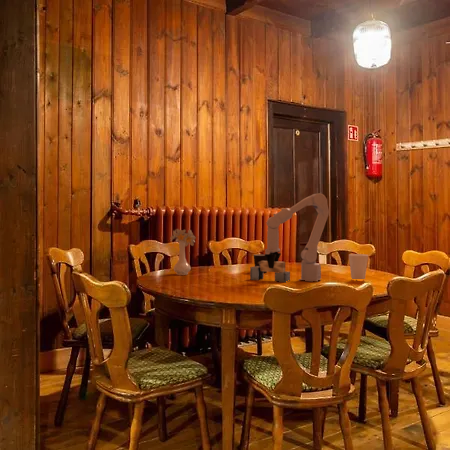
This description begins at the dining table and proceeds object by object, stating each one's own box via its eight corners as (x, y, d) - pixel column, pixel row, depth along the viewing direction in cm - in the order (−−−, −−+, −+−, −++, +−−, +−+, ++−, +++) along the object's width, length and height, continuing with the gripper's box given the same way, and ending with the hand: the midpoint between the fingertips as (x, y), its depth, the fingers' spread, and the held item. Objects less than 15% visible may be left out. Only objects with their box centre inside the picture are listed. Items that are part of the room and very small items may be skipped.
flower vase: (183, 277, 251) (183, 229, 250) (164, 273, 264) (164, 228, 264) (203, 275, 259) (203, 229, 258) (183, 271, 273) (183, 228, 272)
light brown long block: (285, 271, 239) (285, 261, 238) (282, 272, 236) (282, 262, 235) (263, 270, 244) (263, 260, 244) (260, 271, 241) (260, 261, 241)
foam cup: (363, 282, 234) (363, 256, 234) (345, 280, 240) (345, 255, 240) (370, 280, 242) (370, 254, 242) (353, 278, 248) (353, 253, 247)
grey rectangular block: (263, 278, 246) (263, 266, 246) (257, 280, 240) (257, 267, 240) (255, 278, 248) (255, 265, 248) (250, 279, 242) (250, 267, 242)
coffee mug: (251, 272, 269) (251, 255, 269) (257, 271, 277) (257, 254, 277) (270, 274, 264) (270, 256, 264) (275, 272, 272) (276, 254, 271)
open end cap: (289, 280, 239) (290, 271, 239) (284, 282, 233) (285, 273, 233) (279, 280, 242) (279, 271, 242) (274, 281, 236) (274, 272, 236)
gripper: (271, 239, 248) (271, 265, 248) (259, 241, 235) (259, 268, 235) (284, 240, 244) (283, 266, 245) (272, 241, 232) (272, 269, 232)
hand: (272, 267), depth 240 cm, fingers closed on light brown long block, 3 cm apart
